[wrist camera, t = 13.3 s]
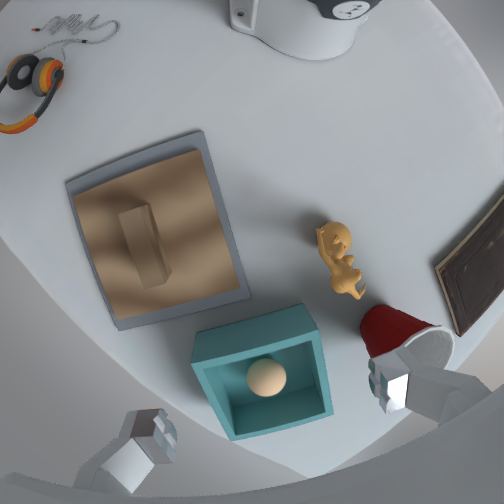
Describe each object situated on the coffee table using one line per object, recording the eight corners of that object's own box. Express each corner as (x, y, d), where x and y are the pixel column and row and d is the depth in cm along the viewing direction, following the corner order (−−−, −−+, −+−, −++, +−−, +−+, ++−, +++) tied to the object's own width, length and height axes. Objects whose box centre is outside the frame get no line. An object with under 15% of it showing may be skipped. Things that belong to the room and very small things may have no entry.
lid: (76, 196, 30) (55, 199, 25) (199, 150, 30) (194, 144, 26) (119, 316, 34) (106, 335, 29) (239, 285, 34) (241, 301, 29)
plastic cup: (357, 368, 40) (391, 419, 28) (331, 316, 37) (369, 367, 25) (415, 329, 39) (460, 369, 27) (397, 273, 36) (451, 307, 25)
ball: (240, 356, 36) (242, 380, 31) (278, 346, 36) (284, 368, 31) (250, 384, 37) (253, 408, 33) (286, 374, 38) (293, 398, 33)
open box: (196, 332, 36) (190, 363, 29) (303, 303, 36) (318, 329, 29) (229, 407, 39) (230, 441, 33) (320, 383, 40) (333, 414, 33)
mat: (68, 183, 30) (65, 183, 30) (203, 131, 30) (202, 130, 30) (120, 329, 35) (118, 331, 35) (250, 295, 35) (251, 297, 35)
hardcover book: (430, 265, 37) (439, 270, 35) (505, 186, 36) (514, 187, 33) (454, 333, 41) (461, 338, 39) (521, 255, 39) (528, 258, 37)
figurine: (359, 249, 35) (411, 280, 24) (324, 282, 36) (363, 325, 24) (319, 199, 33) (364, 209, 22) (281, 233, 34) (308, 260, 22)
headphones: (125, 7, 23) (28, 142, 22) (132, 31, 28) (49, 154, 27) (43, 1, 20) (-38, 114, 19) (53, 19, 26) (-19, 125, 25)
